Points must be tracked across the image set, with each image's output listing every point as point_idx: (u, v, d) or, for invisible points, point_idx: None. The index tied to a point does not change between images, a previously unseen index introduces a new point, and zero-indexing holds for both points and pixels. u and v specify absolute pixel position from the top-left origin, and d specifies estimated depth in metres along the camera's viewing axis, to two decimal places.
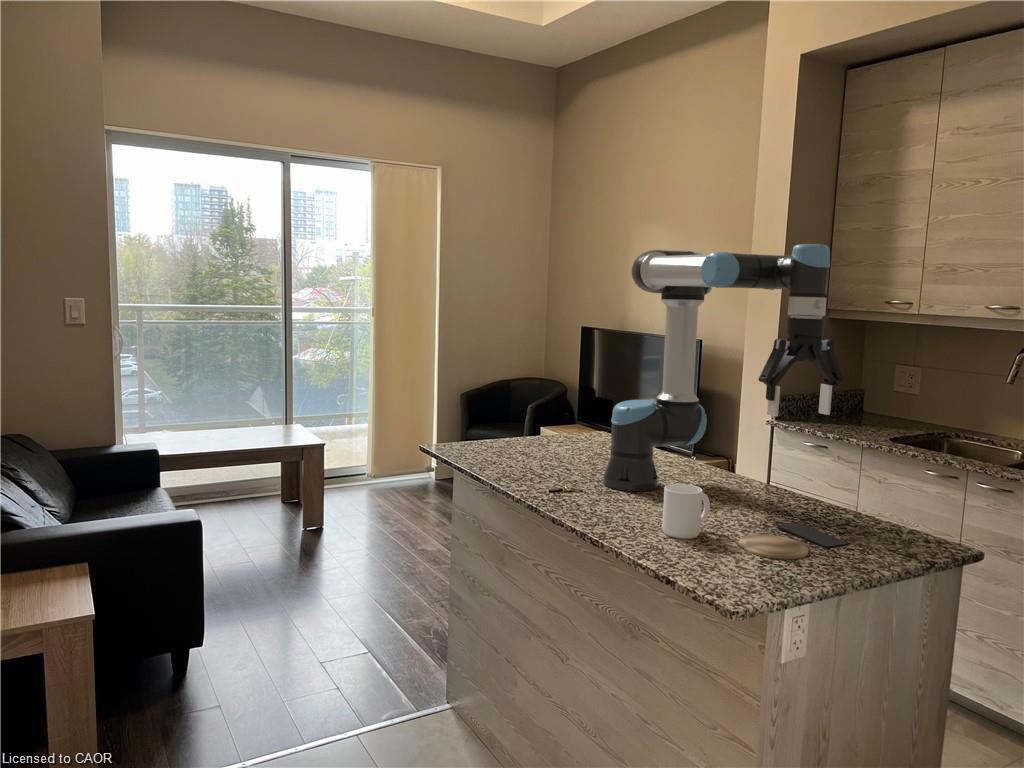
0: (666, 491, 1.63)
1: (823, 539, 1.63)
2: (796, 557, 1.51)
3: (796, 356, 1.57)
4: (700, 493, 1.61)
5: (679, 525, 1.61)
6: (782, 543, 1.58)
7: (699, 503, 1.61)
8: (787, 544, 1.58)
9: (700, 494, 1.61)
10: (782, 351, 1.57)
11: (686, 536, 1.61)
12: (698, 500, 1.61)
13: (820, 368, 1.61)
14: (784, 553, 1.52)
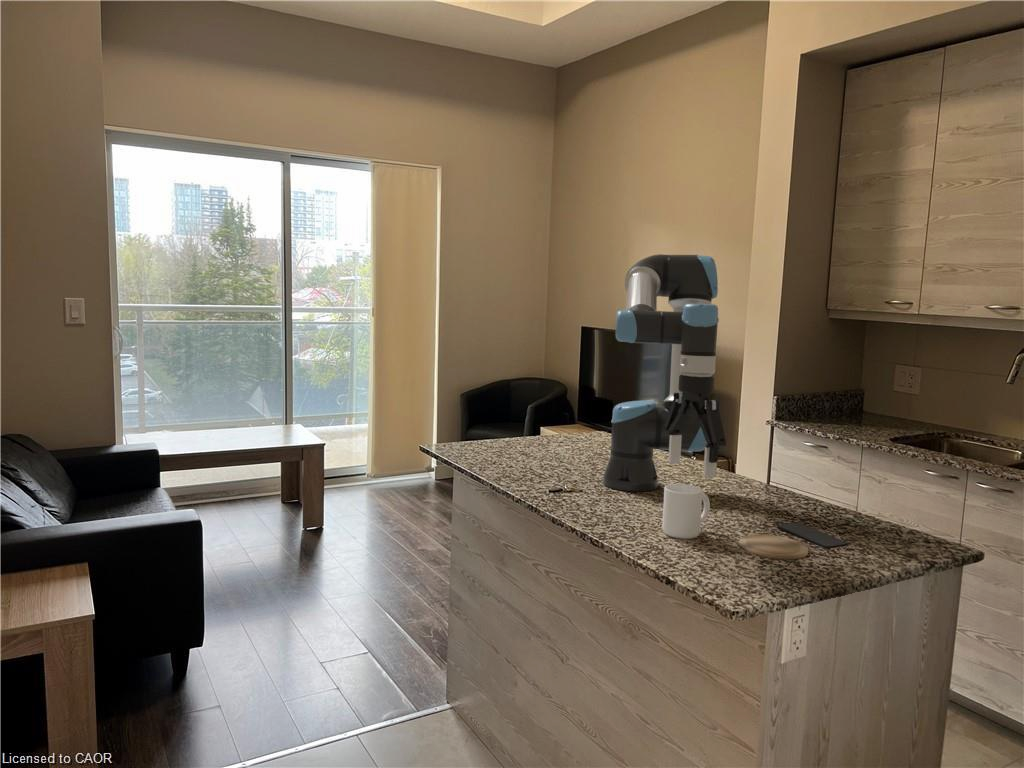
0: (666, 491, 1.63)
1: (823, 539, 1.63)
2: (796, 557, 1.51)
3: (679, 410, 1.65)
4: (700, 493, 1.61)
5: (679, 525, 1.61)
6: (782, 543, 1.58)
7: (699, 503, 1.61)
8: (787, 544, 1.58)
9: (700, 494, 1.61)
10: (673, 403, 1.68)
11: (686, 536, 1.61)
12: (698, 500, 1.61)
13: None
14: (784, 553, 1.52)
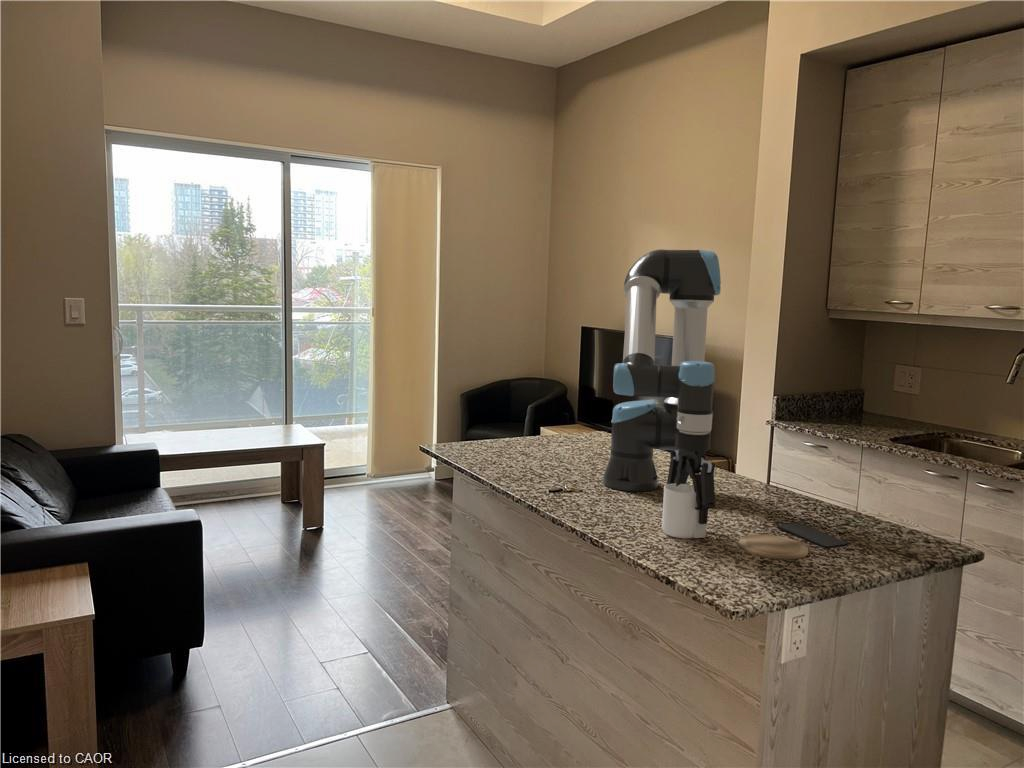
0: (666, 491, 1.63)
1: (823, 539, 1.63)
2: (796, 557, 1.51)
3: (678, 467, 1.66)
4: None
5: (679, 525, 1.61)
6: (782, 543, 1.58)
7: None
8: (787, 544, 1.58)
9: None
10: (671, 462, 1.69)
11: (685, 536, 1.61)
12: None
13: None
14: (784, 553, 1.52)
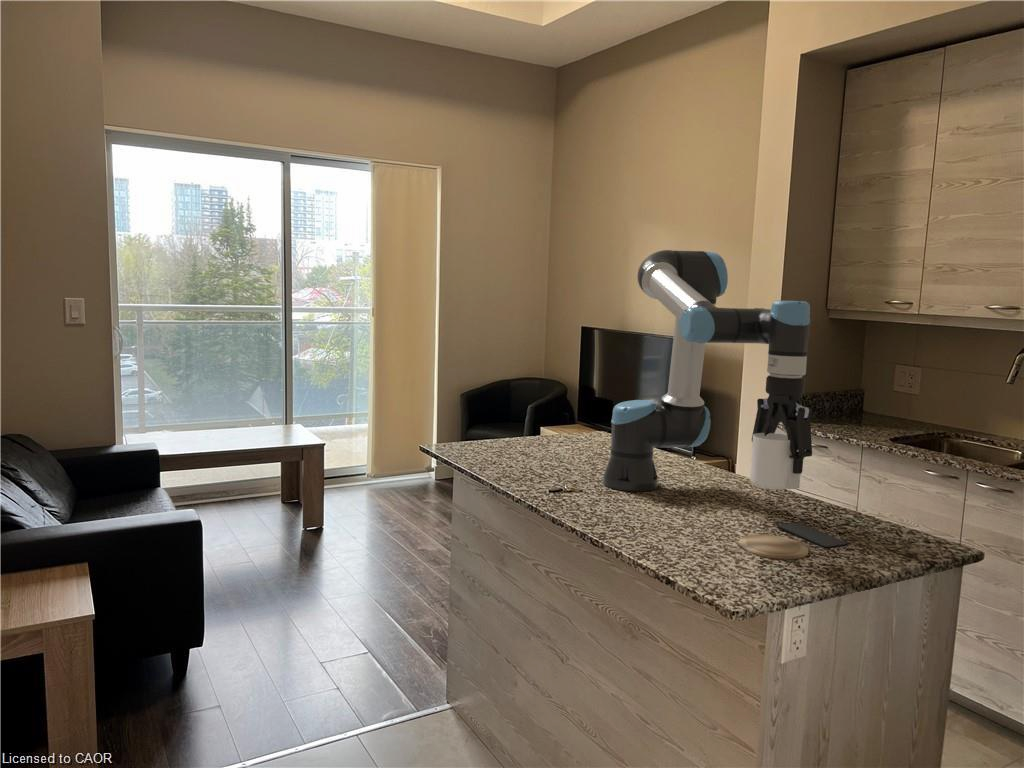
0: (756, 439, 1.52)
1: (823, 539, 1.63)
2: (796, 557, 1.51)
3: (767, 415, 1.55)
4: None
5: (771, 475, 1.51)
6: (782, 543, 1.58)
7: None
8: (787, 544, 1.58)
9: None
10: (759, 410, 1.59)
11: (778, 487, 1.51)
12: None
13: None
14: (784, 553, 1.52)
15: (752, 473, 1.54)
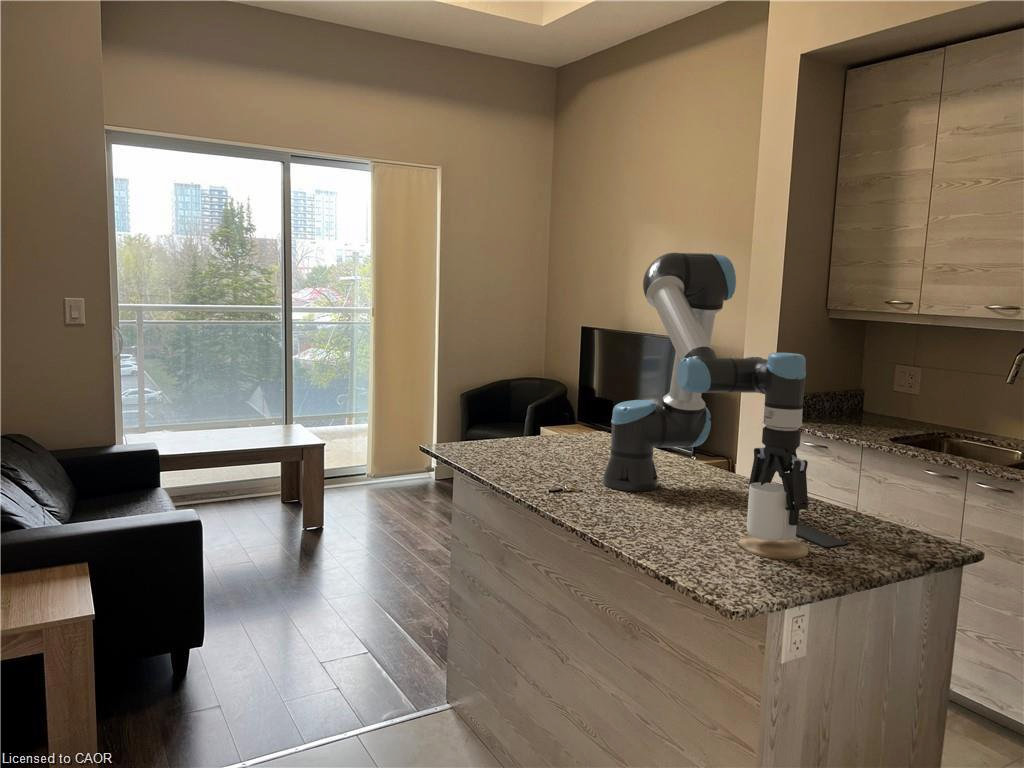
0: (752, 490, 1.54)
1: (823, 539, 1.63)
2: (796, 557, 1.51)
3: (764, 465, 1.57)
4: None
5: (767, 526, 1.52)
6: (782, 543, 1.58)
7: None
8: (787, 544, 1.58)
9: None
10: (755, 459, 1.60)
11: (774, 538, 1.52)
12: None
13: None
14: (784, 553, 1.52)
15: (749, 523, 1.55)
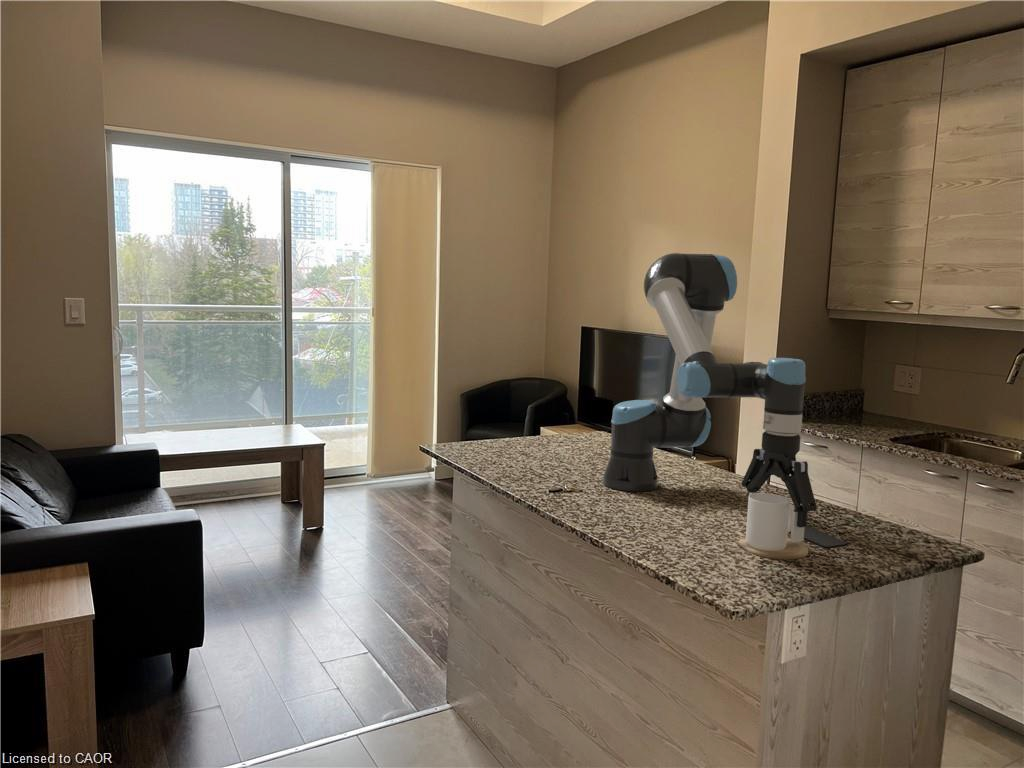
0: (751, 501, 1.54)
1: (823, 539, 1.63)
2: (796, 557, 1.51)
3: (762, 468, 1.57)
4: (788, 503, 1.53)
5: (766, 537, 1.52)
6: None
7: (787, 514, 1.53)
8: (787, 544, 1.58)
9: (788, 504, 1.53)
10: (754, 460, 1.61)
11: (773, 549, 1.52)
12: (786, 510, 1.52)
13: None
14: (784, 553, 1.52)
15: (748, 534, 1.56)
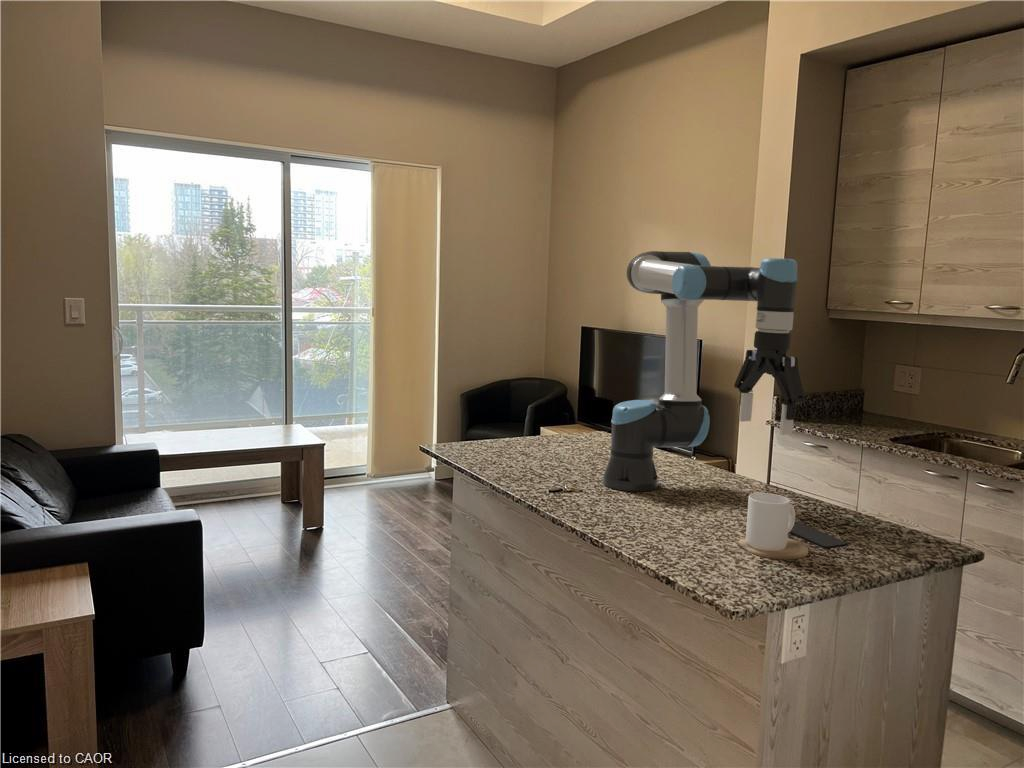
0: (752, 501, 1.54)
1: (823, 539, 1.63)
2: (796, 557, 1.51)
3: (754, 367, 1.63)
4: (788, 503, 1.53)
5: (766, 537, 1.52)
6: None
7: (787, 514, 1.53)
8: (787, 544, 1.58)
9: (788, 504, 1.53)
10: (746, 360, 1.66)
11: (773, 549, 1.52)
12: (786, 511, 1.52)
13: None
14: (784, 553, 1.52)
15: (748, 534, 1.56)
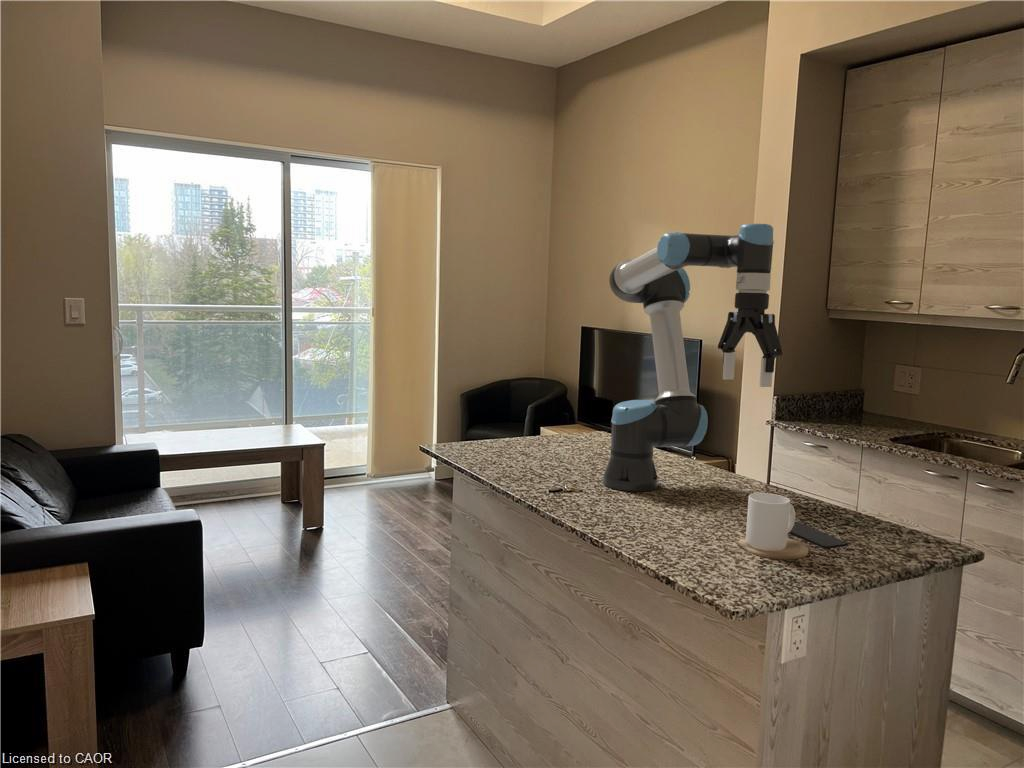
0: (751, 501, 1.54)
1: (823, 539, 1.63)
2: (796, 557, 1.51)
3: (735, 327, 1.74)
4: (788, 503, 1.53)
5: (766, 537, 1.52)
6: None
7: (787, 514, 1.53)
8: (787, 544, 1.58)
9: (788, 504, 1.53)
10: (728, 322, 1.78)
11: (773, 549, 1.52)
12: (786, 511, 1.52)
13: None
14: (784, 553, 1.52)
15: (748, 534, 1.56)
